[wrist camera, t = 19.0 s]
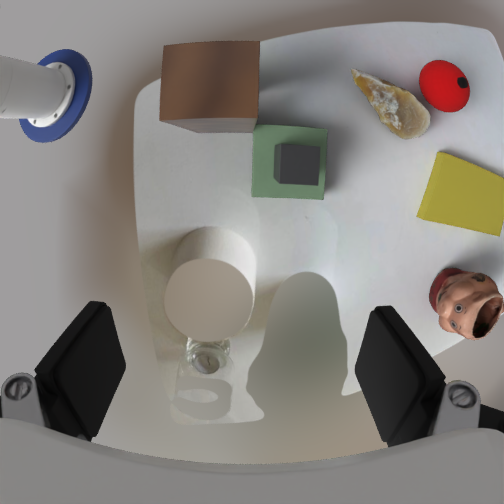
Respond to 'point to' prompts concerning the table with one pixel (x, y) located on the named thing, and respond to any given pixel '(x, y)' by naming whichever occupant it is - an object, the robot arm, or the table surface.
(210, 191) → the table surface
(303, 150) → the block
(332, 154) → the table surface
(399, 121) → the stone
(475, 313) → the face mug
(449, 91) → the ornament
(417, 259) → the table surface
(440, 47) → the table surface
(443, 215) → the flat olive board
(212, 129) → the tall brown wooden block
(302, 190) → the sage green square slab
